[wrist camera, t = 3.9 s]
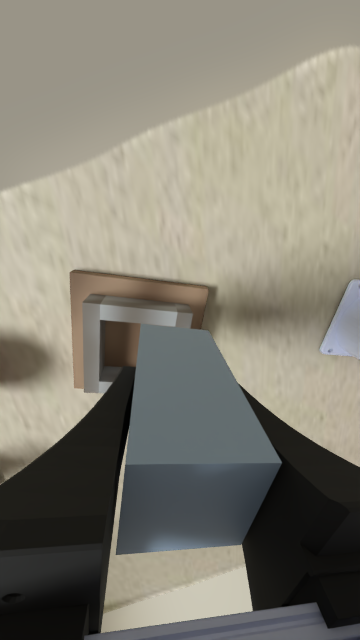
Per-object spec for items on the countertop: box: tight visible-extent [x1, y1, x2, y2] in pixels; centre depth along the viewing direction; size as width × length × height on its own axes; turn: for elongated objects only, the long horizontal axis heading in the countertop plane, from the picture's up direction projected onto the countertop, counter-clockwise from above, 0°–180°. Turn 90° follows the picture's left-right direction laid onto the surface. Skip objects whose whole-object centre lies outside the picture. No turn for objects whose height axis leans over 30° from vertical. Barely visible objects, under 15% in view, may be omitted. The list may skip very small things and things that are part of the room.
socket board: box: [70, 270, 209, 393], centre depth 19 cm, size 11×11×3 cm
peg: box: [116, 324, 282, 555], centre depth 10 cm, size 4×4×8 cm
